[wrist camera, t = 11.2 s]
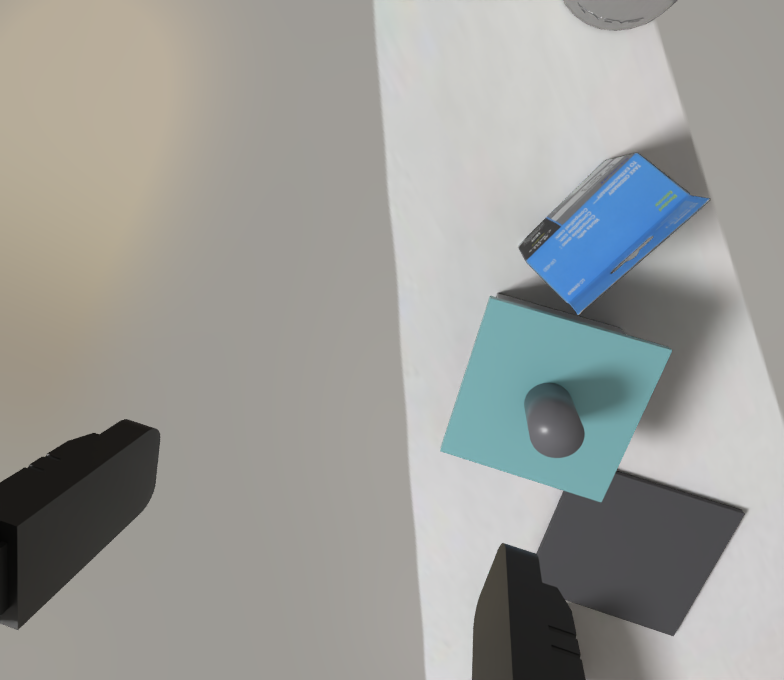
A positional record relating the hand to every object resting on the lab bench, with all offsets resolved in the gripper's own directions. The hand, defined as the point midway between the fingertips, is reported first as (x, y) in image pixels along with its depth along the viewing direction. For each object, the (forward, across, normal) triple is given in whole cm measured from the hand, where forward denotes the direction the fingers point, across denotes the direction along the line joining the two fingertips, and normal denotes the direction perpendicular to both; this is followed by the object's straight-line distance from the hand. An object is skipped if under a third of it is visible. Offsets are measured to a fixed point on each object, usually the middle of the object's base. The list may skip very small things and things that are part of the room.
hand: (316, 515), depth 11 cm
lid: (+25, -10, +5) cm, 27 cm away
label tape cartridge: (+32, -9, -7) cm, 34 cm away
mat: (+32, -23, +19) cm, 44 cm away
